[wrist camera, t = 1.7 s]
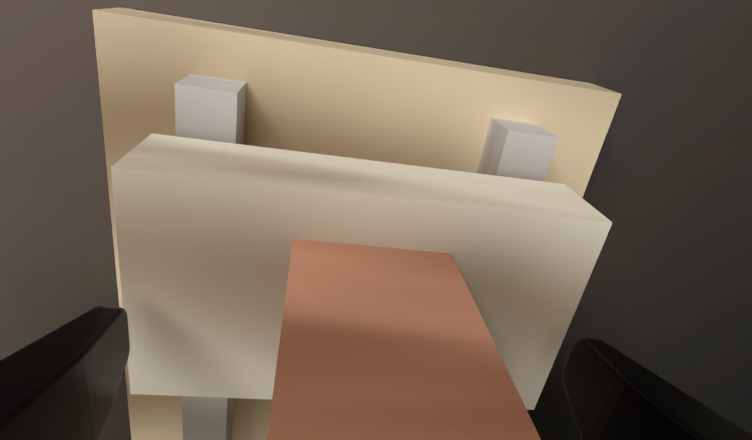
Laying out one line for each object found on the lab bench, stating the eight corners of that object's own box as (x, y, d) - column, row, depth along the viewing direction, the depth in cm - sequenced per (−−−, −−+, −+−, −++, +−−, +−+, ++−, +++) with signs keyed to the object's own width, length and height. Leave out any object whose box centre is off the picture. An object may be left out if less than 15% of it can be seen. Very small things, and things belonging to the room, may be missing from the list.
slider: (504, 351, 13) (675, 693, 7) (160, 331, 11) (-38, 742, 5) (564, 184, 11) (899, 453, 4) (152, 133, 9) (-203, 425, 3)
